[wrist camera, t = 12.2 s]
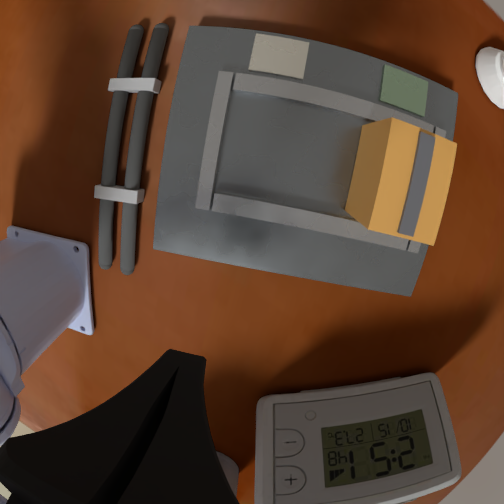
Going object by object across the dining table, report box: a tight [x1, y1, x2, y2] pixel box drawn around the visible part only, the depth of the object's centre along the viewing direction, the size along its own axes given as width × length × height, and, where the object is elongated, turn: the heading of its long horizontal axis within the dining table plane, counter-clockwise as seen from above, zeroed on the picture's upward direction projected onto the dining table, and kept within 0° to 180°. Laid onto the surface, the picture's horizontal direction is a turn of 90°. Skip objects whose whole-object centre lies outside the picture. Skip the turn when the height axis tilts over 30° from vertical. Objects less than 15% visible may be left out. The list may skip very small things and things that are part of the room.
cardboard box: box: [345, 117, 457, 246], centre depth 13 cm, size 4×5×5 cm
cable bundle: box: [94, 23, 169, 275], centre depth 17 cm, size 3×17×1 cm, turn 170°
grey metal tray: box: [153, 26, 458, 297], centre depth 16 cm, size 17×14×2 cm
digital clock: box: [255, 372, 461, 504], centre depth 18 cm, size 16×9×11 cm, turn 85°
